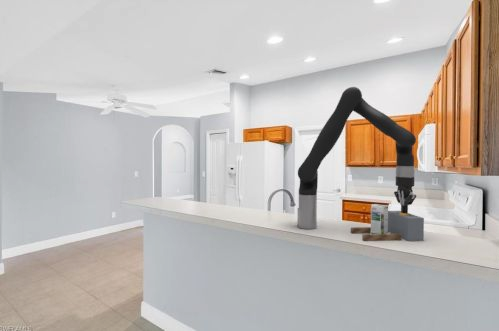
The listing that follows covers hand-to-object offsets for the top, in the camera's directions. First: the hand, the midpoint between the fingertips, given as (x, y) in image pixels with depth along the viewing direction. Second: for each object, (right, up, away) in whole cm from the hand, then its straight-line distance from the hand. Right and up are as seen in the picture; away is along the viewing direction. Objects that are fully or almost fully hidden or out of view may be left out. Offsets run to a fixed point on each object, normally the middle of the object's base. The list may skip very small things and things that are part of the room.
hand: (404, 213), depth 123 cm
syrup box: (-12, -11, 0) cm, 16 cm away
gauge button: (0, -4, 0) cm, 4 cm away
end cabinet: (0, -11, 0) cm, 11 cm away
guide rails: (-14, -11, -1) cm, 18 cm away
